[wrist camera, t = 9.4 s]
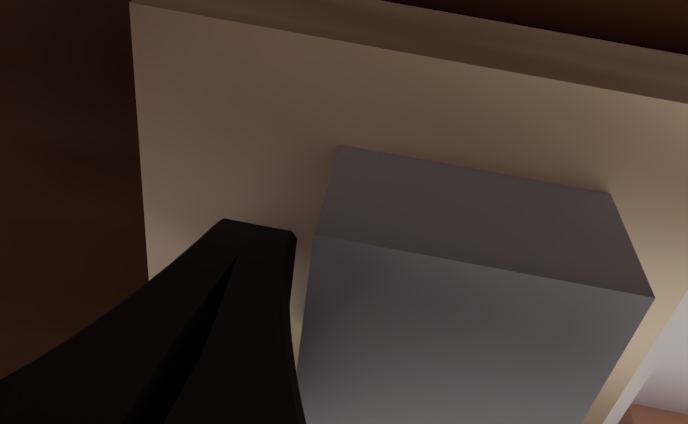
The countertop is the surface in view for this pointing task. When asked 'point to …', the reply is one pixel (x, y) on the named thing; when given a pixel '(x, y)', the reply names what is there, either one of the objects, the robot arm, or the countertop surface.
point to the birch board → (401, 123)
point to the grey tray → (661, 371)
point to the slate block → (462, 296)
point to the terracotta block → (651, 416)
